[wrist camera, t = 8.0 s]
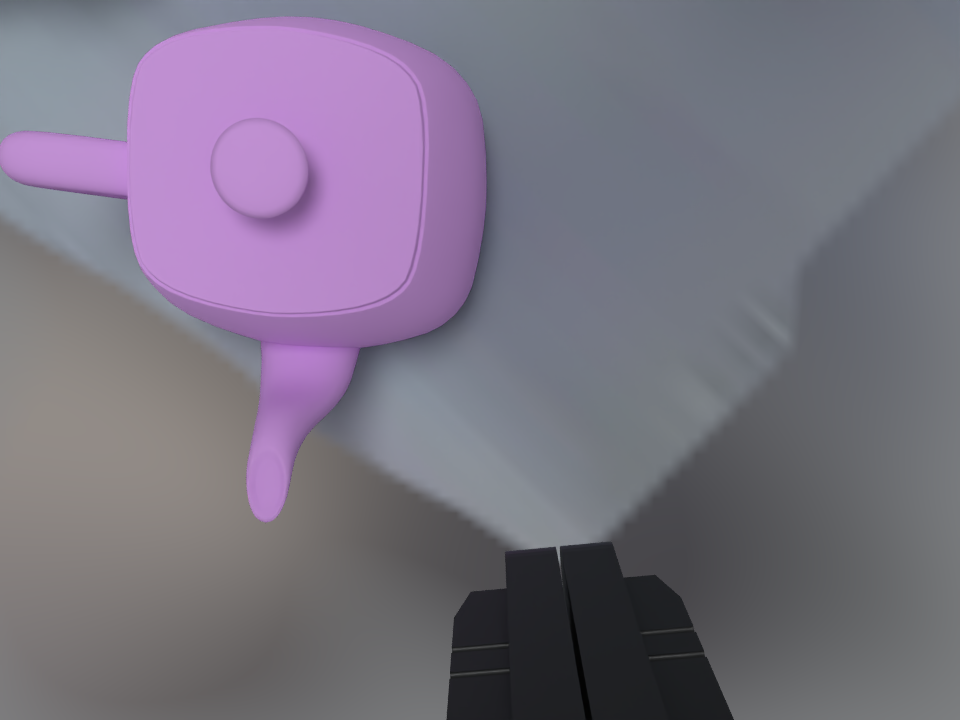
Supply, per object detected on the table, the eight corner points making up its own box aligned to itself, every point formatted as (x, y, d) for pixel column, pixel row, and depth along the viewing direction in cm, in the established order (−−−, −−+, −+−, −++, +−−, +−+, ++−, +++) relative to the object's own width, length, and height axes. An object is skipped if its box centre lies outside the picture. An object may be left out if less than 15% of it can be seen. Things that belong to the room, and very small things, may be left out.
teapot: (130, 38, 39) (-86, -96, 24) (495, 64, 39) (503, -54, 24) (133, 423, 43) (-56, 512, 28) (469, 446, 43) (462, 547, 28)
